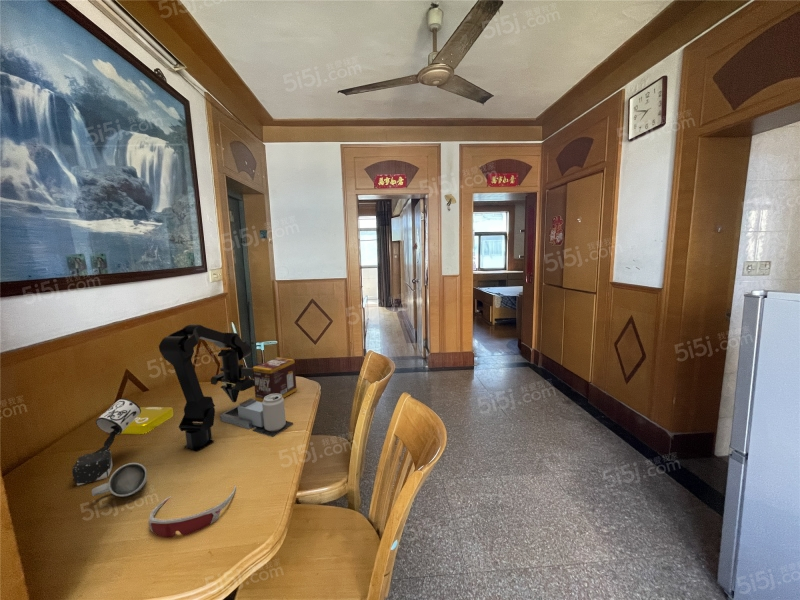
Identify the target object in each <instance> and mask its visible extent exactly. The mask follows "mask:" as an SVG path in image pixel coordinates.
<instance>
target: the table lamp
mask: <svg viewBox="0 0 800 600" xmlns="http://www.w3.org/2000/svg"><path fill="white" fill-rule="evenodd" d="M140 407H141V406H139V405H138V403H136V402H134V401H133V400H130V399H128V398H118V400H117V401H116V402H114V403H113V404H112V405H111V406H110V407H108V409H107V410H105V411H104V413H102V414H101V415H100V416H98V418H97V419H95V425H96V426H97V427H98V429H99V430H101V431H102V432H105V433H107V434H109V435H108V437H107V438H106V440H104V444H103V446H102V447H101V448H100V449H98V450H95V451H94V452H91V453H86V454H83V455H81V456H78V458H77V460H76V462H75V464H74V465H72V471H71V473H72V478H73V482H74V483H75V484H76V486H77V487H78V486H82V485H88V484H89V483H93V482H96V481H99V480H100V481H101V480H103V479H107V478H109V477H110V474H111V471H112V469H113V465H114V463H113V457H112V451H111V448H110V447H111V446H112V445H113V443H114V441H115V439H116V438H115V437H116V436H119V435H121V434H120V433H121V432H122V431H123V430H124V429H125V428H126V427H127V426H128V425H129V424H130V423H131V422H132V421H133V420H134V419H135V418H136V417H137V416H138V415H139V414H140V413H141V409H140Z"/></svg>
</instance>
